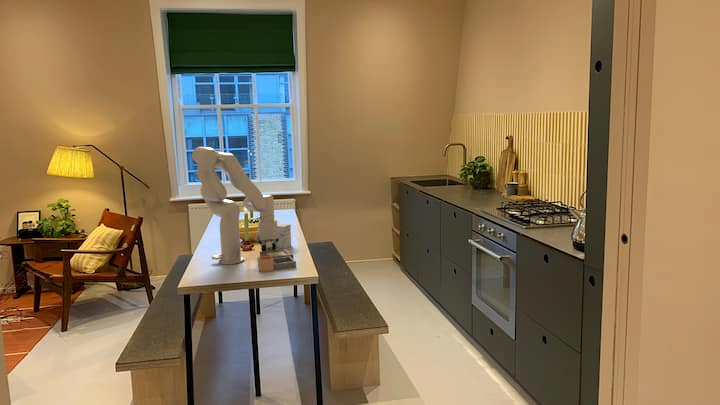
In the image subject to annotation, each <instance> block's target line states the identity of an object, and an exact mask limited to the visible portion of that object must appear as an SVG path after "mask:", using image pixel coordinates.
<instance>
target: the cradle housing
mask: <svg viewBox="0 0 720 405" xmlns="http://www.w3.org/2000/svg"><path fill="white" fill-rule="evenodd" d="M279 251H283V252H284V253H285V255H277V256H271V257H272V258H281V257H289V256H290V257H291V258H292V259H294V260H295V258H294V254H293V253H292V252H291V251H290V250H288V248H278V249H275V250H270V251H262V250H261V251H259V257H263V256H269V255H267V254H266V253H271V252H279Z"/></svg>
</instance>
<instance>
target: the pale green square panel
mask: <svg viewBox="0 0 720 405" xmlns="http://www.w3.org/2000/svg"><path fill="white" fill-rule="evenodd" d="M266 254H267V255H269V256H277V255H285V253H284V252H283V251H279V252H271V253H266Z"/></svg>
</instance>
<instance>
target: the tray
mask: <svg viewBox="0 0 720 405" xmlns="http://www.w3.org/2000/svg"><path fill="white" fill-rule="evenodd" d="M273 261H274V270H273V271H279V270H287V269H294V268H295V269H296V268H297V261H296V260H295V258H294V259H292V258H291V257H290V256H289V257H281V258H273Z"/></svg>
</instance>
